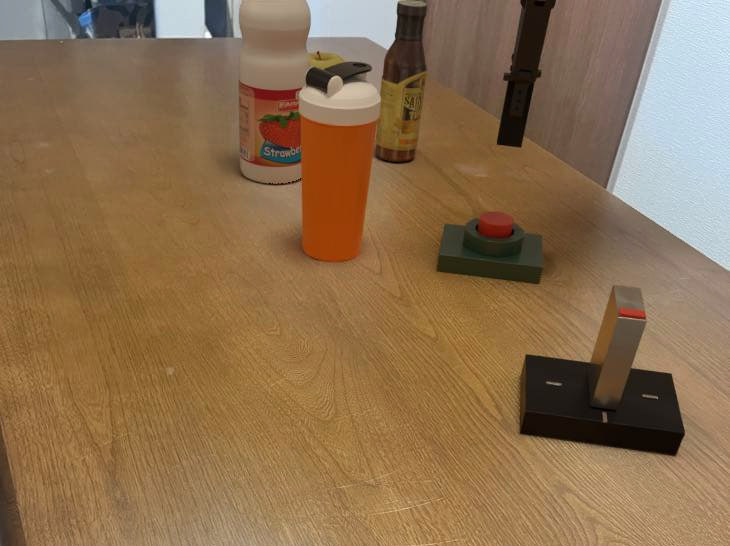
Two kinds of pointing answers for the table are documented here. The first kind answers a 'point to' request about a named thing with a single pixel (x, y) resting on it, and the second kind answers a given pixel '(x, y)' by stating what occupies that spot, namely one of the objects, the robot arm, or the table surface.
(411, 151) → the sauce bottle
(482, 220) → the button
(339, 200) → the shaker bottle
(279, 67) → the fruit juice
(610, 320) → the grey tall block
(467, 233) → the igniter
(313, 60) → the apple
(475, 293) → the table surface
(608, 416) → the panel
